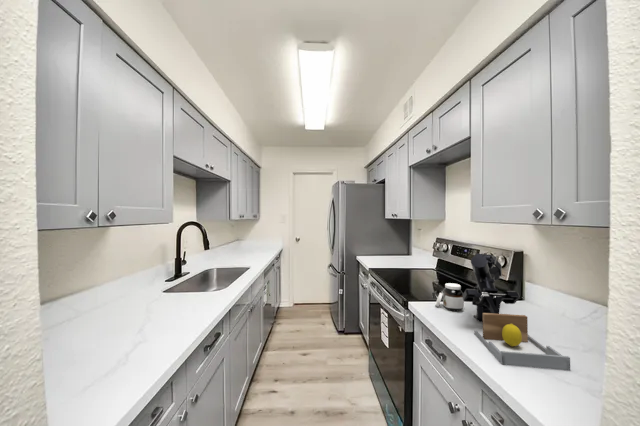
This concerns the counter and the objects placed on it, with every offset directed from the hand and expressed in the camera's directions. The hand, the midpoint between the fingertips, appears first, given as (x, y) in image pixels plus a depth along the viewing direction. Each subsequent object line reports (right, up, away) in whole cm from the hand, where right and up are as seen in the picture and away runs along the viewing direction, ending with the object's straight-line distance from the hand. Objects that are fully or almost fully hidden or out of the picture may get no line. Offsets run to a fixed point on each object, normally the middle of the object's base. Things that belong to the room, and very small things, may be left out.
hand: (497, 317), depth 98 cm
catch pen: (0, -7, -10) cm, 12 cm away
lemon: (0, -7, -7) cm, 10 cm away
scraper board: (+1, -7, -3) cm, 8 cm away
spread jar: (-3, -8, +31) cm, 32 cm away
